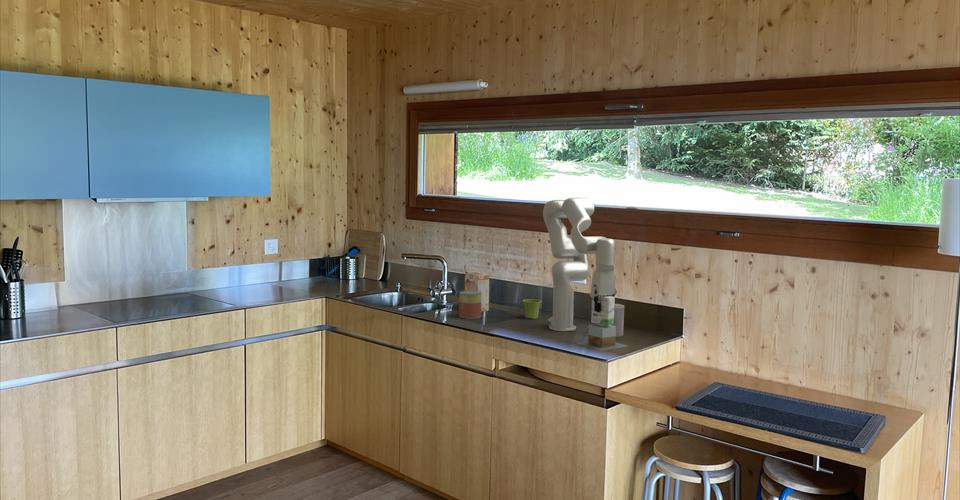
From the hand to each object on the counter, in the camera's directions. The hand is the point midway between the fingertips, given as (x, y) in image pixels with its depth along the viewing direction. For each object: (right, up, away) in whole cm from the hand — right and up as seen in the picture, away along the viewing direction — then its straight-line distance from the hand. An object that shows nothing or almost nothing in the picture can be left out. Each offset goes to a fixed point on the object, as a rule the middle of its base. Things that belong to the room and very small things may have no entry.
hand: (602, 310), depth 303 cm
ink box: (0, -6, +1) cm, 6 cm away
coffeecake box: (-53, -6, +77) cm, 94 cm away
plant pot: (-26, -9, +57) cm, 63 cm away
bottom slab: (0, -14, +1) cm, 14 cm away
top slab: (0, -11, +1) cm, 10 cm away
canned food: (-56, -8, +58) cm, 81 cm away
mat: (0, -15, +2) cm, 15 cm away
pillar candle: (+8, -13, +21) cm, 26 cm away
